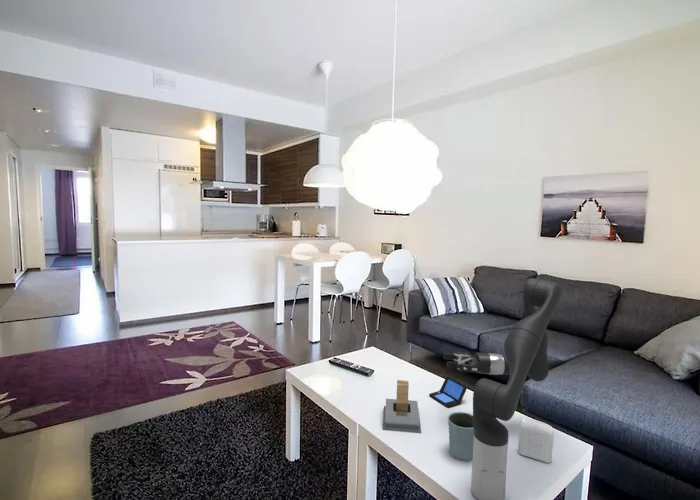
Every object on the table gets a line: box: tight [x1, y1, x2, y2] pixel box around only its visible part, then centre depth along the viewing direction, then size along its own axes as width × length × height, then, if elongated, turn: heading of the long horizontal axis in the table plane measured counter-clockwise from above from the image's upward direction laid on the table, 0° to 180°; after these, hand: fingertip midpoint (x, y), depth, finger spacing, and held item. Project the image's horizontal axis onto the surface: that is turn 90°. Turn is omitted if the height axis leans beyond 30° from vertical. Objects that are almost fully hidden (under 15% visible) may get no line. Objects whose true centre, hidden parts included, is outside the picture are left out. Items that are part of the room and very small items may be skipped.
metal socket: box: [382, 398, 422, 434], centre depth 146 cm, size 16×14×5 cm
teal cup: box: [447, 411, 474, 462], centre depth 126 cm, size 10×10×12 cm
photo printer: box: [517, 418, 555, 464], centre depth 125 cm, size 10×4×12 cm, turn 60°
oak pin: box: [396, 379, 410, 412], centre depth 146 cm, size 4×4×14 cm
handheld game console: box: [428, 376, 467, 409], centre depth 163 cm, size 12×11×7 cm
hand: (445, 360), depth 142 cm, fingers open, 8 cm apart
